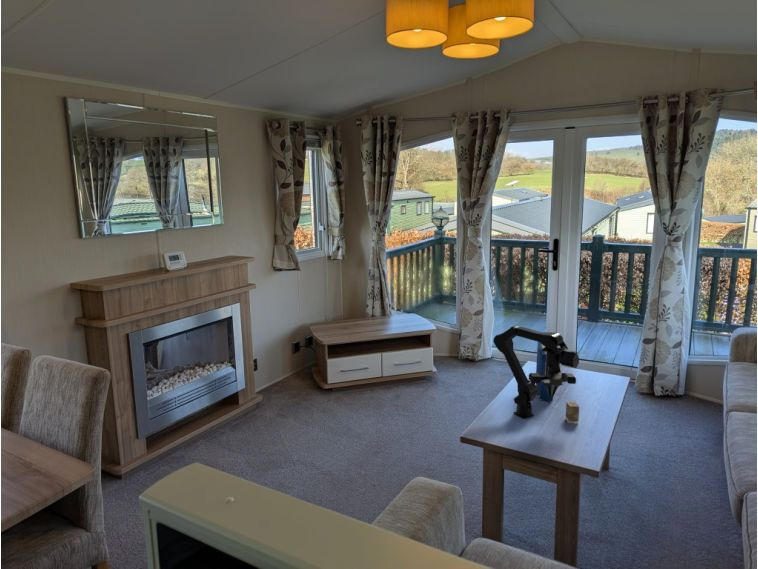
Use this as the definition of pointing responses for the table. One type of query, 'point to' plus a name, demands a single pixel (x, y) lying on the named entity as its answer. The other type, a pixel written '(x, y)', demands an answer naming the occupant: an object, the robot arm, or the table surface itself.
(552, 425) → the table surface
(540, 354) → the book
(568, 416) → the brown rectangular block
